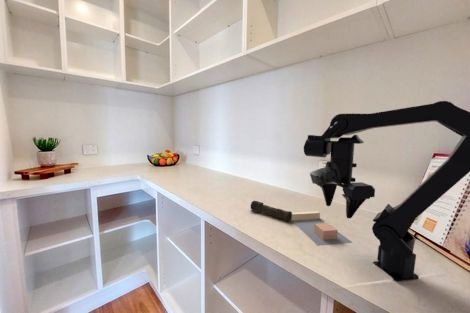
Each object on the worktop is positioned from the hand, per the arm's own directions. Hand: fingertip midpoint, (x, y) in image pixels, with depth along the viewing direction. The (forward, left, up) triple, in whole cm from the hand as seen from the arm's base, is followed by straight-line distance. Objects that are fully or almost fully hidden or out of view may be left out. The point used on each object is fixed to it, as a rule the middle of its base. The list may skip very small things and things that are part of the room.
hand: (337, 211), depth 56 cm
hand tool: (+25, +12, -11) cm, 30 cm away
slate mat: (+10, -1, -11) cm, 15 cm away
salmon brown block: (+6, -1, -11) cm, 12 cm away
